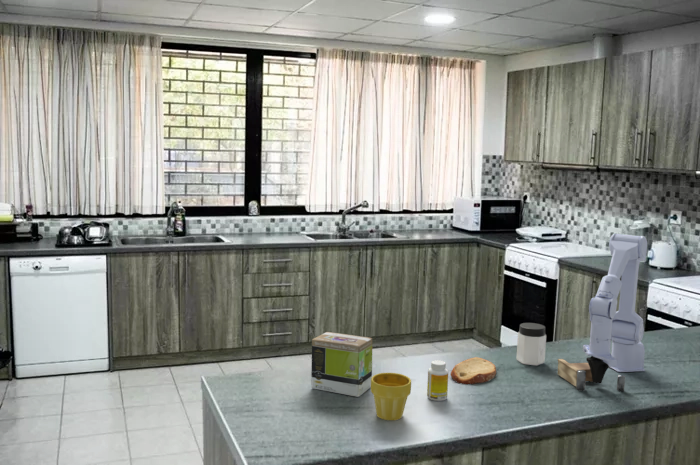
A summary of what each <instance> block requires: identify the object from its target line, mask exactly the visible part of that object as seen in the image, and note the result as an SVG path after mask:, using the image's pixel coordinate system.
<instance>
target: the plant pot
mask: <svg viewBox="0 0 700 465" xmlns="http://www.w3.org/2000/svg"><path fill="white" fill-rule="evenodd" d="M411 391H412V379H411V378H410V377H409V376H407V375H405V374H402V373H398V372H380V373H375V374H374V375H373V376H372V378H371V387H370V392H371V393H372V395H373V399H374V406H375V412H376V413H375V414H376V416H377V417H378V418H379V419H381V420H384V421H397V420H400V419H402V418H403V414H404V411H405V408H406V403H407V400H408V397H409V396H410V395H411Z"/></svg>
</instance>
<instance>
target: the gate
mask: <svg viewBox="0 0 700 465" xmlns="http://www.w3.org/2000/svg"><path fill="white" fill-rule="evenodd" d="M557 362H558V363H557V373H556V374H557V375H558V376H559V377H561V378H562V379H564V380H565V381H566V382H568V383H569V384H571V385H573V386H574V387H576V383H577V371H578V370H579V369H578V368H576V367H575V366H573V365H571V364H570V362H568V361H567V360H565V359H564V358H557Z"/></svg>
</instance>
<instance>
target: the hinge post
mask: <svg viewBox="0 0 700 465" xmlns="http://www.w3.org/2000/svg"><path fill="white" fill-rule="evenodd" d="M585 380H586V371H584V370H578V371H577V383H576V386H575V390H576V391H580V392H585V390H586V382H585Z"/></svg>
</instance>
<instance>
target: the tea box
mask: <svg viewBox="0 0 700 465" xmlns="http://www.w3.org/2000/svg"><path fill="white" fill-rule="evenodd" d="M310 375H311V379H310V380H311V389H314V390H319V391H324V392H331V393H336V394H340V395H341V394H342V395H345V396H346V395H347V396H351V397H357V398H359V397H360V396H362V395H363V394H364V393H366V392H367V391H368V390H369V389H371V378H372V377H373V376H372V375H373V338H372V337H368V336H362V335H361V336H359V335H354V334H353V335H352V334H346V333H338V332H331V331H326V332H324V333H322V334H320V335H318V336H317V337H314V338H312V339H311V374H310Z"/></svg>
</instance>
